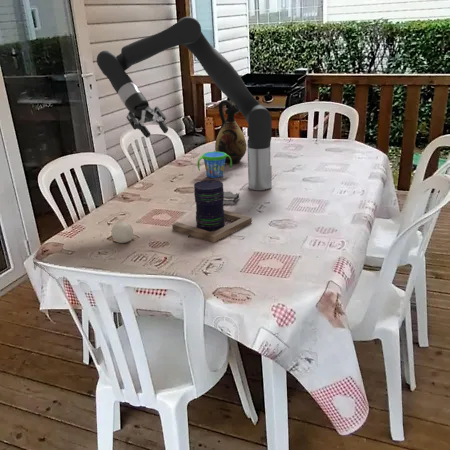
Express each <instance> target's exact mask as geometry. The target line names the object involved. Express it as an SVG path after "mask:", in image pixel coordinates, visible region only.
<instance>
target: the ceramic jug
mask: <svg viewBox="0 0 450 450" xmlns="http://www.w3.org/2000/svg"><path fill="white" fill-rule="evenodd" d="M232 103H233V102H232V101H231V100H227V99H223V100H221V101H220V102H219V104H218V113H219V117H220V121H221V125H220V129H219V132H218V135H217V136H216V139H215V144H214V149H215V152H224V153H226V154H227V155H229V156H230V158H231V160H232V166H233V165H239V164H240V163H241V160H242V159H243V158H244V156H245V154H246V153H247V141H246V138H245V135H244V132H243V131H242V129H241V127H240V126H239V124H238V123H237V121H236V120H235V115H236V114H238V113H241V111H240V110H239V108H238V107H237V106H236V105H235V103H233V104H232ZM225 105H227V108H226V110H225V112H224V109H223V107H224V106H225ZM224 113H225V114H224ZM225 115H227V116H226V118H225ZM230 158H229V157H228V156H227V157H226V160H225V165H227V166H228V165H229V166H230Z"/></svg>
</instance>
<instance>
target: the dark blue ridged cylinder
mask: <svg viewBox="0 0 450 450" xmlns="http://www.w3.org/2000/svg"><path fill="white" fill-rule="evenodd" d="M193 187H194V201H195V207H196V208H195V210H196V211H195V221H196V228H199V229H203V230H206V231H209V232H212V231H213V232H215V231H217V230H219V229H221V228H223V227H224V226H226V225H225V221H226V219H225V215H224V204H223V200H224V199H225V197H224V192H225V190H224V183H223V182H222V181H220V180H216V179H207V180H200V181H197V182H195V183H194V185H193Z"/></svg>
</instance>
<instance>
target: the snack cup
mask: <svg viewBox="0 0 450 450" xmlns="http://www.w3.org/2000/svg"><path fill="white" fill-rule="evenodd" d="M227 156H228V157H229V158H230V156H229V155H227V154H226V153H224V152H216V151H208V152H204V153H202V155H201V156H200V157H199V158H198V160H197V163H196V164H197V169H198V171H200V161H201V160H202V159H203V162H204V168H205V173H206V176H207V178H212V179H217V178H222V177H223V176H224V174H225V173H224V172H225V165H226V164H225V160H226V157H227ZM232 166H233V165H232V160H231V158H230V165H229V168H233V167H232Z"/></svg>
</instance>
